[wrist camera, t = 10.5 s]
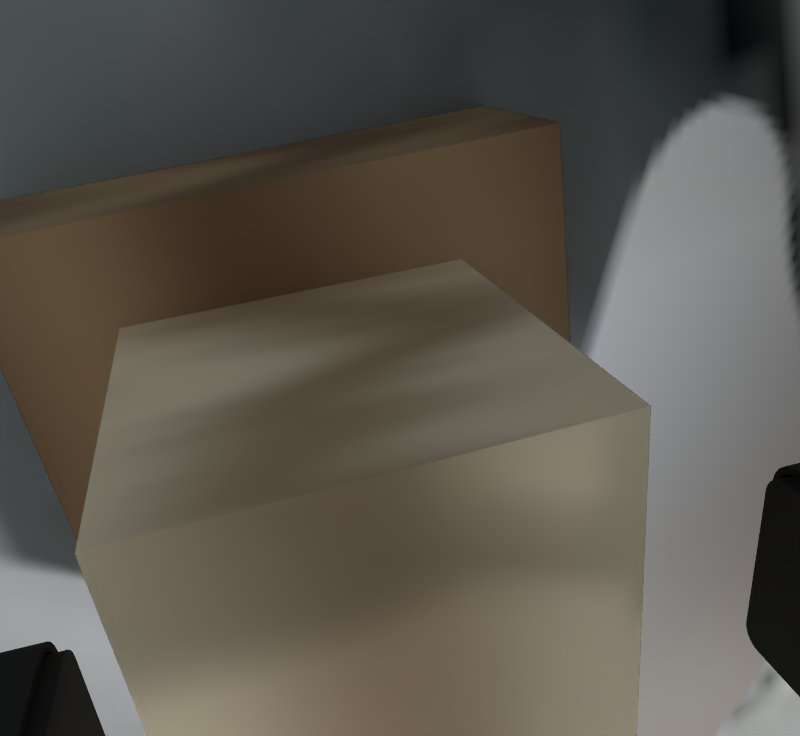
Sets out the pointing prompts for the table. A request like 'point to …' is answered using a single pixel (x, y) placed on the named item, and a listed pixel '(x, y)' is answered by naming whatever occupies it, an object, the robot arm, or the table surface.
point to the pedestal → (263, 249)
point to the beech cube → (370, 518)
